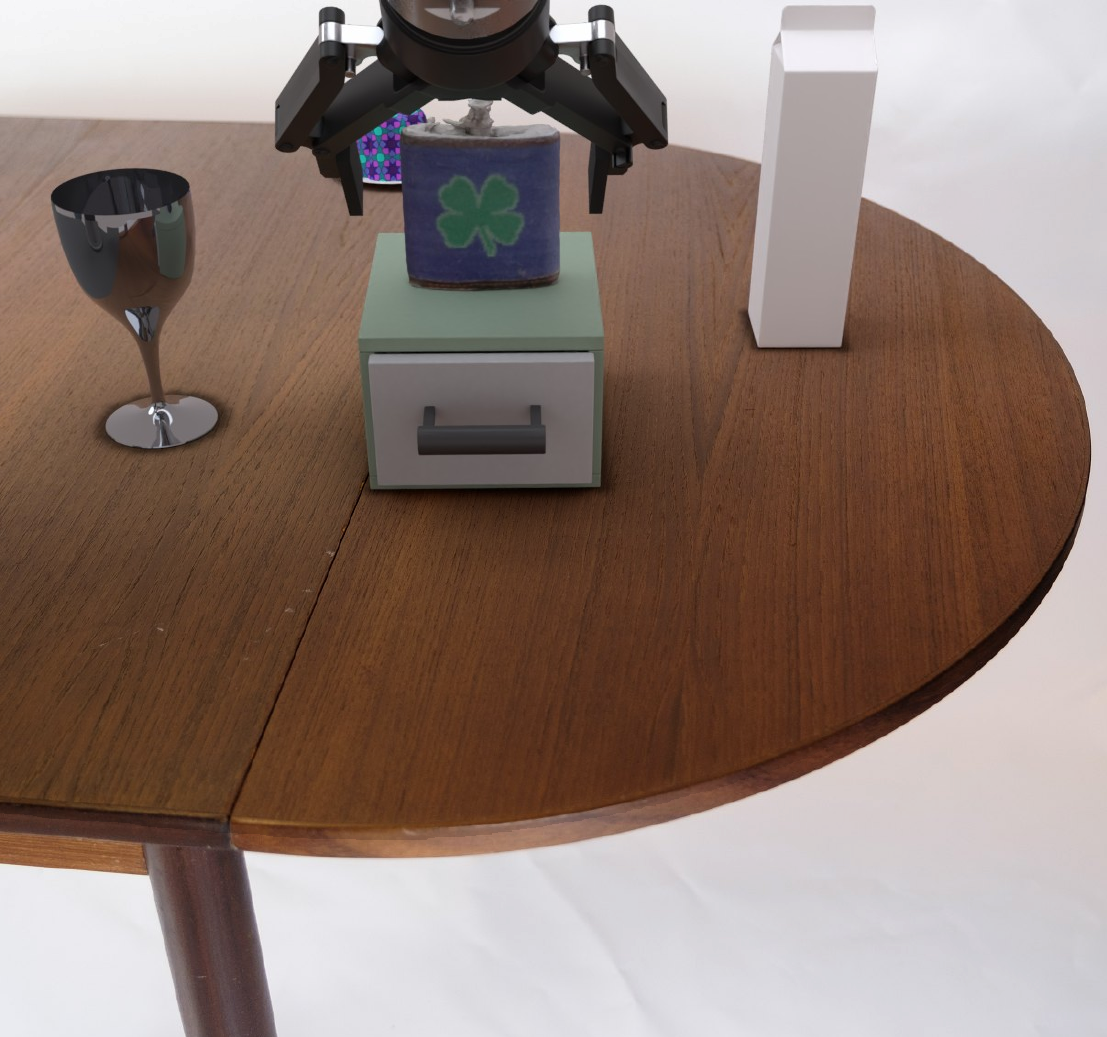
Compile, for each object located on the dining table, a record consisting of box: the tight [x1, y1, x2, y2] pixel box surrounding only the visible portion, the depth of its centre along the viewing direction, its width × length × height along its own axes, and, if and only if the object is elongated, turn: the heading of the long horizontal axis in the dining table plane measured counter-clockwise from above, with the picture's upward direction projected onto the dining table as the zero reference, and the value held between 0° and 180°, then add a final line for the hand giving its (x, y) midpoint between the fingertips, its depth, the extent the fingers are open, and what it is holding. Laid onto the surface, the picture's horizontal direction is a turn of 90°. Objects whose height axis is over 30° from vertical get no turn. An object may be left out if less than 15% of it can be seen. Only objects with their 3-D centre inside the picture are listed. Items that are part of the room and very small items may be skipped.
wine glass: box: [50, 167, 219, 449], centre depth 89 cm, size 8×8×15 cm
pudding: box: [356, 108, 428, 185], centre depth 130 cm, size 12×12×5 cm
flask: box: [399, 99, 561, 290], centre depth 83 cm, size 9×3×11 cm, turn 91°
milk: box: [747, 4, 879, 348], centre depth 98 cm, size 6×6×22 cm
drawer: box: [368, 350, 594, 486], centre depth 87 cm, size 19×13×8 cm, turn 1°
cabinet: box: [357, 231, 605, 490], centre depth 90 cm, size 16×14×10 cm
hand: (476, 192), depth 82 cm, fingers open, 13 cm apart
